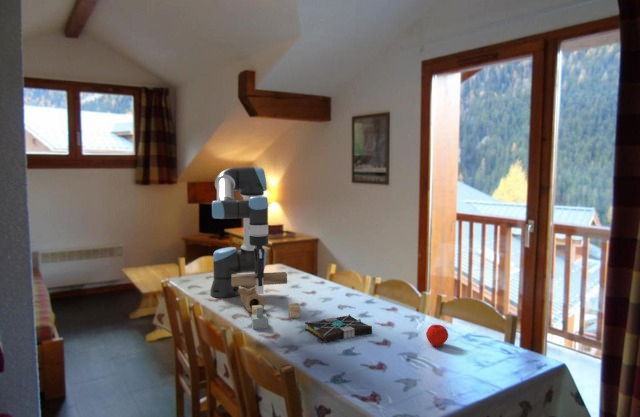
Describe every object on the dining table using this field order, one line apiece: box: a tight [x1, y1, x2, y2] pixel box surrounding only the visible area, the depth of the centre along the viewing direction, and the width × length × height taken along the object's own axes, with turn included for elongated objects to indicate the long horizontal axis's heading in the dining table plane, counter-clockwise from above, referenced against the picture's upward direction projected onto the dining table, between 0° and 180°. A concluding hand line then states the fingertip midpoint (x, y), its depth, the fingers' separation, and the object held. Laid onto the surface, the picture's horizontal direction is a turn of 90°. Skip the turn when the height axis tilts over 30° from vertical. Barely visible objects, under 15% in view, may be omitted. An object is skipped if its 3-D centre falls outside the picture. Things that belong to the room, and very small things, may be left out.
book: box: [304, 314, 373, 344], centre depth 188 cm, size 22×17×5 cm
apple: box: [425, 324, 449, 347], centre depth 174 cm, size 8×8×7 cm
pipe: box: [238, 285, 266, 314], centre depth 217 cm, size 9×16×10 cm, turn 25°
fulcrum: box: [251, 306, 269, 330], centre depth 194 cm, size 6×6×8 cm
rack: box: [251, 302, 301, 319], centre depth 206 cm, size 5×20×5 cm, turn 103°
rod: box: [231, 271, 288, 287], centre depth 193 cm, size 4×22×4 cm, turn 103°
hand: (259, 292), depth 193 cm, fingers closed on rod, 4 cm apart
